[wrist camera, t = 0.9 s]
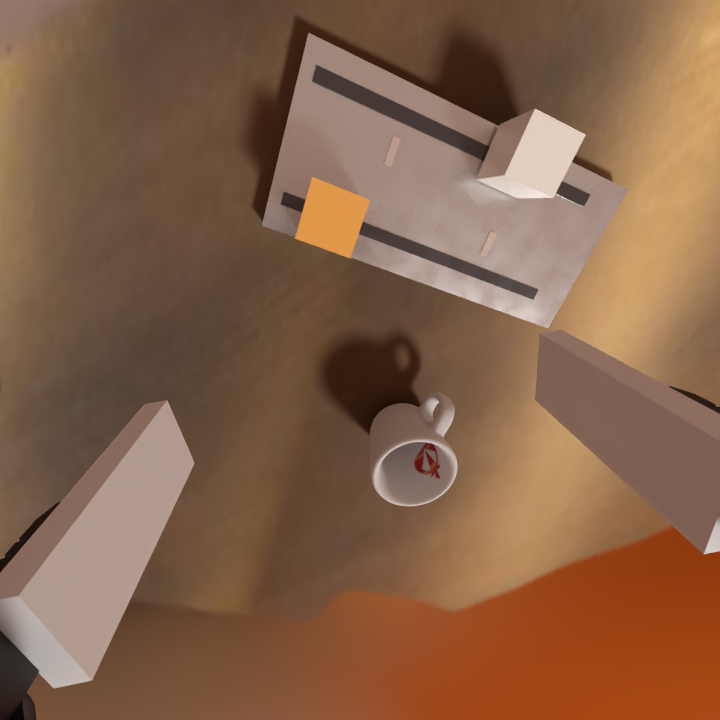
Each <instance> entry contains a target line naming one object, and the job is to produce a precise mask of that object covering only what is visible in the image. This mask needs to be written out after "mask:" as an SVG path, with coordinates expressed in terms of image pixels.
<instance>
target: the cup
mask: <svg viewBox="0 0 720 720" xmlns="http://www.w3.org/2000/svg"><path fill="white" fill-rule="evenodd" d="M438 403H440V411H439V414H438V416H437V417H436V419H435V420H433V410H434V408H435V406H436V405H437V404H438ZM453 418H454V406H453V403H452V401H451V400H450V399H449V398H448V397H447V396H446V395H444V394H442V393H440V392H432V393H431V394H429V395H428V396H427V397H426V398H425V400H424V401H423V402H422V404H421V405H420V406H419V407H417V406H415V405H412V404H408V403H397V404H393V405H390V406H388V407H386V408H384V409H383V410H381V411H380V412H379V413H378V414H377V415H376V417H375V418H374V420H373V422H372V425H371V429H370V457H371V479H372V483H373V486H374V488H375V490H376V491H377V492H378V494H379V495H380V496H381V497H382V498H384V499H385V500H387V501H389V502H391V503H393V504H397V505H402V506H417V505H422V504H425V503H428V502H431V501H433V500H435V499H437V498H438V497H440V496H441V495H442V494H444V493H445V492H446V491H447V490H448V489H449V487H450V486H451V485H452V483H453V481H454V479H455V477H456V473H457V460H456V456H455V454H454V452H453V450H452V449H451V447H450V446H449V444H448V443H447V442H446V440H445V439H444V434H445V433H446V431H447V430H448V428H449V426H450V425H451V423H452V421H453Z"/></svg>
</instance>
